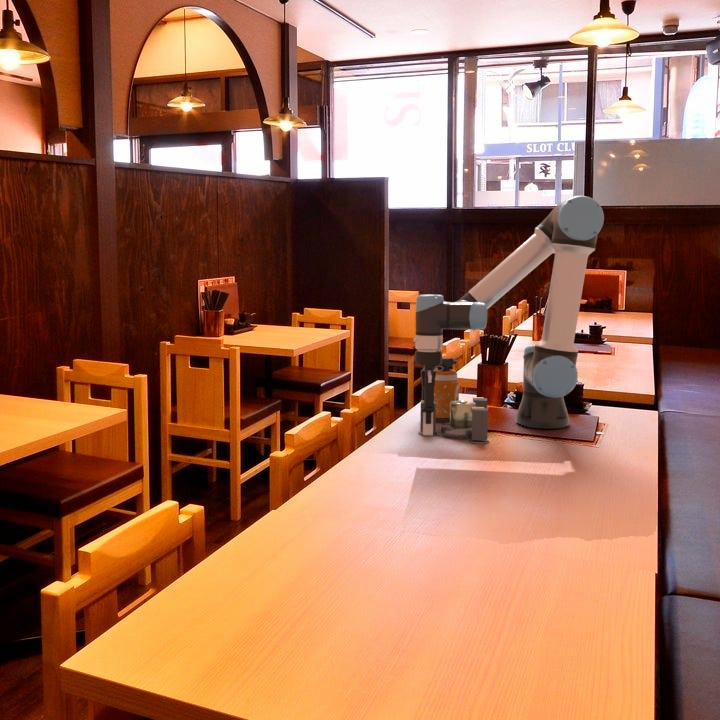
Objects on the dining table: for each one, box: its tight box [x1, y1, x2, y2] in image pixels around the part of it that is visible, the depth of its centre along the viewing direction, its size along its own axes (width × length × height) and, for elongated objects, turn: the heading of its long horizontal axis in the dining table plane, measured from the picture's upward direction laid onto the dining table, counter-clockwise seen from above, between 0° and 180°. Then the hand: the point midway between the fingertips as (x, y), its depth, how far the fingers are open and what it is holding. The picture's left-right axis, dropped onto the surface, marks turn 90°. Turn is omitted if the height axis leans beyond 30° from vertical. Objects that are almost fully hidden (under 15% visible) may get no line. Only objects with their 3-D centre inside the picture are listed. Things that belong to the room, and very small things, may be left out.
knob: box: [472, 396, 488, 408], centre depth 222 cm, size 4×4×8 cm
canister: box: [421, 357, 460, 425], centre depth 230 cm, size 9×11×20 cm
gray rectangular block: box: [472, 407, 489, 441], centre depth 205 cm, size 4×4×8 cm
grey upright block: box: [419, 399, 437, 432], centre depth 216 cm, size 4×4×8 cm
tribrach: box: [418, 399, 490, 445], centre depth 215 cm, size 19×22×10 cm
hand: (427, 432), depth 216 cm, fingers open, 6 cm apart
